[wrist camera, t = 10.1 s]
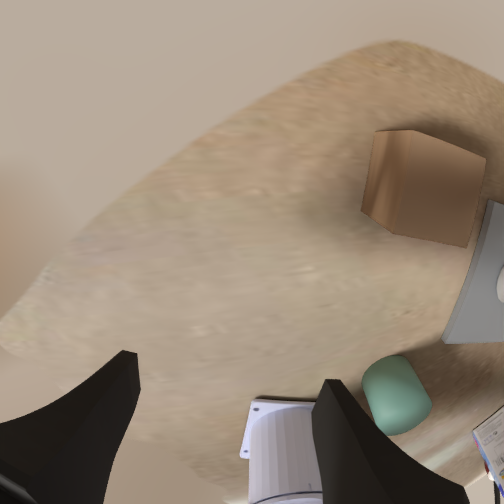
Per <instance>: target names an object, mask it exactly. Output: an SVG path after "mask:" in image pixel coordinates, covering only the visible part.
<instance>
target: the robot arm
mask: <svg viewBox="0 0 504 504" xmlns="http://www.w3.org/2000/svg"><path fill="white" fill-rule="evenodd" d="M140 390H141V388H140V379H139V369H138V357H137V353H133V352H129V351H125V350H122V351H120V352H119V353H118V354H117V355H116V356H114V357H113V358H112V359H111V360H110V361H109V362H107V363H106V364H105V365H104V366H103V367H102V368H100V369H99V370H98V371H97V372H95V373H94V374H93V375H92V376H90V377H89V378H88V379H87V380H85V381H84V382H83V383H81V384H80V385H78V386H77V387H76V388H74V389H73V390H71V391H70V392H69V393H67V394H65V395H64V396H62V397H61V398H59V399H58V400H56V401H54V402H52V403H50V404H49V405H47V406H45V407H43V408H41V409H38V410H36V411H34V412H32V413H30V414H27V415H25V416H22V417H19V418H16V419H13V420H10V421H7V422H3V423H0V504H103V502H104V497H105V492H106V488H107V484H108V480H109V476H110V472H111V468H112V465H113V461H114V458H115V455H116V453H117V451H118V448H119V446H120V444H121V441H122V439H123V437H124V434H125V432H126V430H127V427H128V425H129V423H130V420H131V418H132V416H133V413H134V411H135V408H136V404H137V401H138V397H139V394H140ZM240 457H242V458H247V459H250V460H249V503H248V504H470V502H469V499H468V497H467V494H466V492H465V490H464V487H463V486H461V485H459V484H457V483H454V482H452V481H450V480H448V479H445V478H443V477H441V476H439V475H438V474H436V473H434V472H432V471H431V470H429V469H427V468H426V467H424V466H423V465H421V464H420V463H418V462H417V461H415V460H414V459H413V458H411V457H410V456H409V455H407V454H406V453H405V452H404V451H402V450H401V449H400V448H399V447H398V446H397V445H396V444H394V443H393V442H392V441H391V440H390V439H389V438H388V437H387V436H386V435H385V434H384V433H383V432H382V431H381V430H380V429H379V428H378V426H377V425H376V424H375V423H374V422H373V421H372V420H371V419H370V417H369V416H368V415H367V414H366V413H365V411H364V410H363V409H362V408H361V406H360V405H359V404H358V402H357V401H356V400H355V399H354V397H353V396H352V395H351V393H350V392H349V391H348V389H347V388H346V387H345V385H344V384H343V383H342V381H341V380H337V379H325V381H324V384H323V386H322V389H321V391H320V393H319V396H318V398H317V400H316V402H295V401H278V400H265V399H254V400H253V401H252V402H251V406H250V411H249V415H248V420H247V424H246V429H245V433H244V438H243V442H242V446H241V451H240Z"/></svg>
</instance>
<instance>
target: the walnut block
mask: <svg viewBox="0 0 504 504" xmlns="http://www.w3.org/2000/svg"><path fill="white" fill-rule="evenodd" d="M485 165H486V159H485V158H483V157H481V156H479V155H476V154H474V153H472V152H470V151H467V150H465V149H462V148H460V147H458V146H455V145H453V144H450V143H448V142H445V141H442V140H440V139H437V138H434V137H432V136H429V135H426V134H423V133H420V132H417V131H414V130H400V131H379V132H375V135H374V142H373V148H372V154H371V160H370V166H369V171H368V177H367V182H366V187H365V192H364V197H363V202H362V207H361V211H362V212H363V213H365V214H366V215H368V216H369V217H370V218H372V219H373V220H375V221H376V222H377V223H379V224H380V225H382V226H383V227H384V228H386V229H387V230H389V231H390V232H391V233H393V234H397V235H402V236H408V237H413V238H418V239H423V240H428V241H434V242H439V243H443V244H448V245H453V246H458V247H463V248H467V245H468V242H469V238H470V234H471V231H472V227H473V223H474V219H475V215H476V211H477V207H478V202H479V198H480V193H481V188H482V183H483V177H484V171H485Z"/></svg>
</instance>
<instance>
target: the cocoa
mask: <svg viewBox="0 0 504 504" xmlns="http://www.w3.org/2000/svg"><path fill="white" fill-rule="evenodd" d="M484 463H485V462H484ZM485 469H486V472H487V474H488V477H489V479H490V480H493V481H494V493H495V504H500V490H499V488H498V486H497V484H496V482H495V480H494V478H493V477H492V474H491V472H490V470H489V468H488V466H487V464H486V463H485Z"/></svg>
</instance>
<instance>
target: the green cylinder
mask: <svg viewBox="0 0 504 504" xmlns="http://www.w3.org/2000/svg"><path fill="white" fill-rule="evenodd" d="M362 387H363V390H364V393H365V395H366V398H367V401H368V404H369V406H370V409H371V412H372V415H373V418H374V420H375V423H376V425H377V426H378V428H379V429H380V430H381V431H382V432H383V433H384V434H385V435H387V436H393V435H398V434H402V433H405V432H407V431H409V430H411V429H413V428H414V427H416V426H417V425H419V424H420V423H421V422H422V421H423V420H424V419H425V418H426V417H427V416H428V414H429V413H430V411H431V408H432V402H431V400H430V398H429V396H428V394H427V393H426V391H425V389H424V387H423V385H422V384H421V382H420V380H419V378H418V377H417V375H416V373H415V372H414V370H413V368H412V366H411V365H410V363H409V361H408V360H407V359H406V358H405V357H403V356H399V355H392V356H388V357H385V358H382V359H380V360H378V361H376V362H375V363H374V364H372V365H371V366H370V367H369V368H368V369H367V370H366V372H365V373H364V375H363V377H362Z"/></svg>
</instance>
